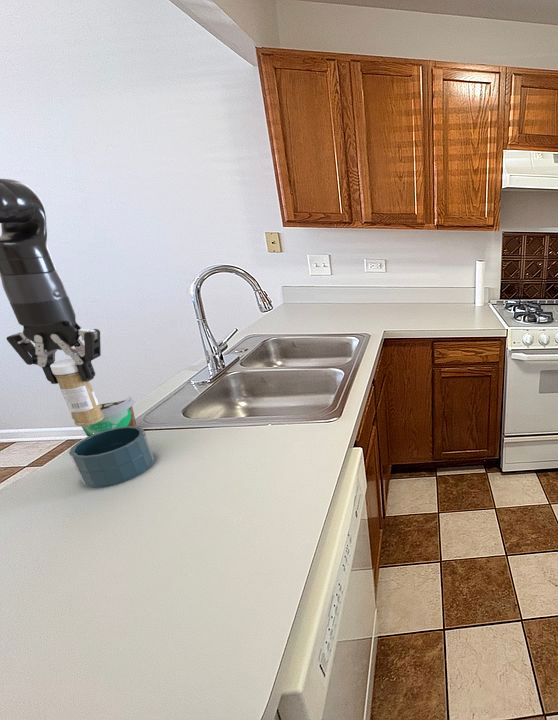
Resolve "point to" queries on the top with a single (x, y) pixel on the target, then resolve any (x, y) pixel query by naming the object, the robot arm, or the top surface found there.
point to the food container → (113, 417)
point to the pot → (112, 456)
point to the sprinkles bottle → (77, 393)
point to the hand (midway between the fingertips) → (73, 380)
